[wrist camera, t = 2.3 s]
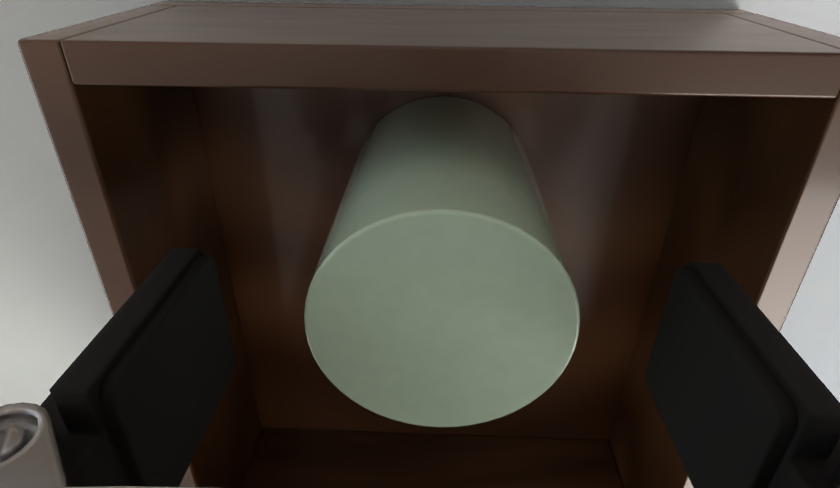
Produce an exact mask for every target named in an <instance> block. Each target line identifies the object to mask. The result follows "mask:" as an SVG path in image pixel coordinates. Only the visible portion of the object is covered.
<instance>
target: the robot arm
mask: <svg viewBox="0 0 840 488" xmlns="http://www.w3.org/2000/svg"><path fill="white" fill-rule="evenodd" d="M234 369H235V352H234V348H233V343H232V338H231V333H230V328H229V324H228V319H227V314H226V309H225V305H224V300H223V295H222V290H221V285H220V281H219V276H218V271H217V266H216V262H215V259H214V258H213V257H212V256H207V254H206V252H205V251H204V250H203V249H191V248H173V249H172V250H170V251H169V252H168V254H167V255H166V256H165V257H164V258H163V259H162V261H161V262H160V263H159V264H158V265H157V266H156V267H155V269H154V270H153V271H152V272H151V273H150V274H149V276H148V277H147V278H146V279H145V280H144V281H143V282H142V284H141V285H140V286H139V287H138V288H137V289H136V291H135V292H134V293H133V294H132V295H131V296H130V297H129V299H128V300H127V301H126V302H125V303H124V304H123V306H122V307H121V308H120V309H119V310H118V311H117V312H116V314H115V315H114V316H113V317H112V318H111V319H110V320H109V322H108V323H107V324H106V325H105V326H104V327H103V329H102V330H101V331H100V332H99V333H98V334H97V335H96V337H95V338H94V339H93V340H92V341H91V342H90V344H89V345H88V346H87V347H86V348H85V349H84V350H83V352H82V353H81V354H80V355H79V356H78V357H77V359H76V360H75V361H74V362H73V363H72V364H71V365H70V367H69V368H68V369H67V370H66V371H65V372H64V374H63V375H62V376H61V377H60V378H59V379H58V380H57V382H56V383H55V384H54V385H53V386H52V387H51V389H50V392H51V394H50V395H49V396H48V397H47V398H46V400H45V401H44V402H43V403H42V404H41V405H40V406H39V405H37V404H31V403H16V404H7V405H4V406H1V407H0V488H202V487H179V486H180V484H181V482H182V480H183V477H184V475H185V473H186V471H187V469H188V467H189V465H190V463H191V461H192V459H193V457H194V455H195V452H196V450H197V448H198V446H199V444H200V442H201V440H202V438H203V436H204V434H205V432H206V430H207V427H208V425H209V423H210V421H211V419H212V417H213V415H214V413H215V411H216V409H217V407H218V404H219V402H220V400H221V398H222V396H223V394H224V392H225V390H226V388H227V386H228V384H229V382H230V379H231V377H232V375H233V373H234ZM646 382H647V386H648V389H649V391H650V393H651V395H652V398H653V400H654V402H655V404H656V406H657V409H658V411H659V413H660V415H661V417H662V420H663V422H664V424H665V426H666V428H667V431H668V433H669V435H670V437H671V440H672V442H673V444H674V446H675V448H676V451H677V453H678V455H679V457H680V459H681V462H682V464H683V466H684V468H685V470H686V473H687V475H688V477H689V479H690V481H691V484H692V486H693V488H840V403H839V401H838V400H837V399H836V398H835V397H834V396H833V394H832V393H831V392H830V391H829V390H828V389H827V387H826V386H825V385H824V384H823V383H822V381H821V380H820V379H819V378H818V377H817V376H816V374H815V373H814V372H813V371H812V370H811V369H810V367H809V366H808V365H807V364H806V363H805V361H804V360H803V359H802V358H801V357H800V356H799V354H798V353H797V352H796V351H795V350H794V349H793V347H792V346H791V345H790V344H789V343H788V341H787V340H786V339H785V338H784V337H783V336H782V334H781V333H780V332H779V331H778V330H777V328H776V327H775V326H774V325H773V324H772V323H771V321H770V320H769V319H768V318H767V317H766V316H765V314H764V313H763V312H762V311H761V310H760V308H759V307H758V306H757V305H756V304H755V303H754V301H753V300H752V299H751V298H750V297H749V296H748V294H747V293H746V292H745V291H744V290H743V288H742V287H741V286H740V285H739V284H738V283H737V281H736V280H735V279H734V278H733V277H732V276H731V274H730V273H729V272H728V271H727V270H726V268H725V267H724V266H723V265H722V264H720V263H714V262H688V263H686V265H685V266H684V268H683V269H677V270H676V272H675V273H674V276H673V279H672V283H671V286H670V290H669V293H668V297H667V300H666V304H665V307H664V311H663V314H662V318H661V321H660V324H659V328H658V331H657V335H656V338H655V342H654V345H653V349H652V352H651V356H650V359H649V363H648V366H647V370H646Z"/></svg>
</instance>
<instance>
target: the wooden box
mask: <svg viewBox="0 0 840 488" xmlns="http://www.w3.org/2000/svg"><path fill="white" fill-rule="evenodd" d="M18 46H19V49H20V52H21V55H22V58H23V60H24V63H25V66H26V69H27V72H28V75H29V78H30V80H31V83H32V86H33V89H34V92H35V95H36V98H37V100H38V103H39V106H40V109H41V112H42V115H43V117H44V120H45V123H46V126H47V129H48V132H49V135H50V137H51V140H52V143H53V146H54V149H55V152H56V155H57V157H58V160H59V163H60V166H61V169H62V172H63V174H64V177H65V180H66V183H67V186H68V189H69V192H70V194H71V197H72V200H73V203H74V206H75V209H76V212H77V214H78V217H79V220H80V223H81V226H82V229H83V231H84V234H85V237H86V240H87V243H88V246H89V249H90V251H91V254H92V257H93V260H94V263H95V266H96V269H97V271H98V274H99V277H100V280H101V283H102V286H103V288H104V291H105V294H106V297H107V300H108V303H109V306H110V308H111V311H112V314H113V316H114V315H115V314H116V312H117V311H118V310H119V309H120V308H121V307H122V306H123V304H124V303H125V302H126V301H127V300H128V299H129V297H130V296H131V295H132V294H133V293H134V292H135V291H136V289H137V288H138V287H139V286H140V285H141V284H142V282H143V281H144V280H145V279H146V278H147V277H148V276H149V274H150V273H151V272H152V271H153V270H154V269H155V267H156V266H157V265H158V264H159V263H160V262H161V261H162V259H163V258H164V257H165V256H166V255H167V254H168V252H169V251H170V250H172V249H173V248H191V249H203V250H204V251H205V252H206V254H207V256H212V257H213V258H214V259H215V262H216V266H217V271H218V276H219V281H220V285H221V290H222V295H223V300H224V305H225V309H226V314H227V319H228V324H229V328H230V333H231V338H232V343H233V348H234V352H235V369H234V373H233V375H232V377H231V379H230V382H229V384H228V386H227V388H226V390H225V392H224V394H223V396H222V398H221V400H220V402H219V404H218V407H217V409H216V411H215V413H214V415H213V417H212V419H211V421H210V423H209V425H208V427H207V430H206V432H205V434H204V436H203V438H202V440H201V442H200V444H199V446H198V448H197V450H196V452H195V455H194V457H193V459H192V461H191V463H190V465H189V467H188V469H187V471H186V473H185V475H184V477H183V480H182V482H181V484H180V486H179V487H202V488H693V486H692V484H691V481H690V479H689V477H688V475H687V473H686V470H685V468H684V466H683V464H682V462H681V459H680V457H679V455H678V453H677V451H676V448H675V446H674V444H673V442H672V440H671V437H670V435H669V433H668V431H667V428H666V426H665V424H664V422H663V420H662V417H661V415H660V413H659V411H658V409H657V406H656V404H655V402H654V400H653V398H652V395H651V393H650V391H649V389H648V386H647V382H646V370H647V366H648V363H649V359H650V356H651V352H652V349H653V345H654V342H655V338H656V335H657V331H658V328H659V324H660V321H661V318H662V314H663V311H664V307H665V304H666V300H667V297H668V293H669V290H670V286H671V283H672V279H673V276H674V273H675V272H676V270H677V269H683V268H684V266H685V265H686V263H688V262H714V263H720V264H722V265H723V266H724V267H725V268H726V270H727V271H728V272H729V273H730V274H731V276H732V277H733V278H734V279H735V280H736V281H737V283H738V284H739V285H740V286H741V287H742V288H743V290H744V291H745V292H746V293H747V294H748V296H749V297H750V298H751V299H752V300H753V301H754V303H755V304H756V305H757V306H758V307H759V308H760V310H761V311H762V312H763V313H764V314H765V316H766V317H767V318H768V319H769V320H770V321H771V323H772V324H773V325H774V326H775V327H776V328H777V330H778V331H779V332H780V330H781V328H782V325H783V323H784V321H785V318H786V316H787V314H788V312H789V309H790V307H791V305H792V303H793V300H794V298H795V296H796V294H797V291H798V289H799V287H800V285H801V282H802V280H803V278H804V276H805V273H806V271H807V269H808V267H809V264H810V262H811V260H812V258H813V255H814V253H815V251H816V249H817V246H818V244H819V242H820V239H821V237H822V235H823V233H824V230H825V228H826V226H827V224H828V221H829V219H830V217H831V215H832V212H833V210H834V208H835V206H836V203H837V201H838V199H839V197H840V37H838V36H834V35H831V34H827V33H824V32H820V31H816V30H813V29H809V28H806V27H802V26H798V25H795V24H791V23H788V22H784V21H780V20H777V19H773V18H770V17H766V16H763V15H759V14H754V13H751V12H747V11H743V10H717V9H646V8H575V7H503V6H432V5H361V4H290V3H218V2H159V3H155V4H151V5H147V6H144V7H140V8H136V9H132V10H129V11H125V12H121V13H117V14H114V15H110V16H106V17H102V18H99V19H95V20H91V21H87V22H84V23H80V24H76V25H72V26H69V27H65V28H61V29H57V30H53V31H50V32H46V33H42V34H38V35H35V36H31V37H27V38H23V39H21V40H19V41H18ZM440 96H445V97H457V98H462V99H467V100H470V101H473V102H476V103H479V104H481V105H483V106H485V107H487V108H489V109H490V110H492V111H493V112H495V113H496V114H498V115H499V116H500V117H501V118H502V119H504V120H505V121H506V122H507V123H508V124H509V125H510V127H511V128H512V129H513V130H514V131H515V133H516V134H517V136H518V138H519V139H520V141H521V143H522V145H523V147H524V150H525V152H526V155H527V158H528V160H529V163H530V166H531V169H532V171H533V174H534V177H535V180H536V182H537V185H538V188H539V191H540V193H541V196H542V199H543V202H544V204H545V207H546V210H547V213H548V215H549V218H550V221H551V224H552V226H553V229H554V232H555V235H556V237H557V240H558V243H559V245H560V248H561V251H562V254H563V256H564V259H565V262H566V265H567V267H568V270H569V273H570V276H571V278H572V281H573V284H574V287H575V289H576V293H577V297H578V301H579V306H580V329H579V336H578V340H577V343H576V347H575V350H574V352H573V354H572V357H571V359H570V361H569V363H568V365H567V366H566V368H565V369H564V371H563V373H562V374H561V375H560V376H559V378H558V379H557V380H556V381H555V382H554V384H553V385H552V386H551V387H550V388H548V389H547V390H546V391H545V392H544V393H543V394H542V395H541V396H539V397H538V398H536V399H535V400H534V401H532V402H531V403H529V404H528V405H526V406H524V407H522V408H521V409H519V410H517V411H515V412H513V413H510V414H508V415H506V416H503V417H501V418H498V419H494V420H491V421H488V422H484V423H479V424H474V425H468V426H459V427H428V426H419V425H413V424H407V423H403V422H400V421H396V420H392V419H389V418H387V417H384V416H381V415H378V414H376V413H374V412H372V411H370V410H368V409H366V408H364V407H362V406H361V405H359V404H357V403H356V402H354V401H352V400H351V399H350V398H348V397H347V396H346V395H345V394H343V393H342V392H341V391H340V390H339V389H338V388H337V387H336V386H335V385H334V384H332V383H331V382H330V380H329V379H328V378H327V377H326V375H325V374H324V373H323V372H322V370H321V369H320V367H319V365H318V364H317V362H316V360H315V359H314V357H313V354H312V352H311V349H310V347H309V344H308V340H307V336H306V332H305V324H304V309H305V300H306V296H307V292H308V289H309V285H310V283H311V280H312V277H313V275H314V272H315V269H316V267H317V264H318V261H319V259H320V256H321V253H322V251H323V248H324V245H325V243H326V240H327V237H328V235H329V232H330V229H331V226H332V224H333V221H334V218H335V216H336V213H337V210H338V208H339V205H340V202H341V200H342V197H343V194H344V192H345V189H346V186H347V184H348V181H349V178H350V176H351V173H352V170H353V167H354V165H355V162H356V159H357V157H358V154H359V151H360V149H361V147H362V145H363V143H364V141H365V139H366V137H367V136H368V134H369V133H370V131H371V130H372V129H373V128H374V127H375V125H376V124H377V123H378V122H379V121H380V120H382V119H383V118H384V117H385V116H386V115H387V114H389V113H390V112H392V111H393V110H395V109H397V108H399V107H401V106H403V105H405V104H407V103H410V102H412V101H415V100H418V99H424V98H429V97H440Z"/></svg>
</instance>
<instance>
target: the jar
mask: <svg viewBox="0 0 840 488" xmlns="http://www.w3.org/2000/svg"><path fill="white" fill-rule="evenodd" d="M304 324H305V332H306V336H307V340H308V344H309V347H310V349H311V352H312V354H313V357H314V359H315V360H316V362H317V364H318V365H319V367H320V369H321V370H322V372H323V373H324V374H325V375H326V377H327V378H328V379H329V380H330V382H331V383H332V384H334V385H335V386H336V387H337V388H338V389H339V390H340V391H341V392H342V393H343V394H345V395H346V396H347V397H348V398H350V399H351V400H352V401H354V402H356V403H357V404H359V405H361V406H362V407H364V408H366V409H368V410H370V411H372V412H374V413H376V414H378V415H381V416H384V417H387V418H389V419H392V420H396V421H400V422H403V423H407V424H413V425H419V426H428V427H459V426H468V425H474V424H479V423H484V422H488V421H491V420H494V419H498V418H501V417H503V416H506V415H508V414H510V413H513V412H515V411H517V410H519V409H521V408H522V407H524V406H526V405H528V404H529V403H531V402H532V401H534V400H535V399H536V398H538V397H539V396H541V395H542V394H543V393H544V392H545V391H546V390H547V389H548V388H550V387H551V386H552V385H553V384H554V382H555V381H556V380H557V379H558V378H559V376H560V375H561V374H562V373H563V371H564V369H565V368H566V366H567V365H568V363H569V361H570V359H571V357H572V354H573V352H574V350H575V347H576V343H577V340H578V336H579V329H580V306H579V301H578V297H577V293H576V289H575V287H574V284H573V281H572V278H571V276H570V273H569V270H568V267H567V265H566V262H565V259H564V256H563V254H562V251H561V248H560V245H559V243H558V240H557V237H556V235H555V232H554V229H553V226H552V224H551V221H550V218H549V215H548V213H547V210H546V207H545V204H544V202H543V199H542V196H541V193H540V191H539V188H538V185H537V182H536V180H535V177H534V174H533V171H532V169H531V166H530V163H529V160H528V158H527V155H526V152H525V150H524V147H523V145H522V143H521V141H520V139H519V138H518V136H517V134H516V133H515V131H514V130H513V129H512V128H511V127H510V125H509V124H508V123H507V122H506V121H505V120H504V119H502V118H501V117H500V116H499V115H498V114H496V113H495V112H493V111H492V110H490V109H489V108H487V107H485V106H483V105H481V104H479V103H476V102H473V101H470V100H467V99H462V98H457V97H445V96H440V97H429V98H424V99H418V100H415V101H412V102H410V103H407V104H405V105H403V106H401V107H399V108H397V109H395V110H393V111H392V112H390V113H389V114H387V115H386V116H385V117H384V118H383V119H382V120H380V121H379V122H378V123H377V124H376V125H375V127H374V128H373V129H372V130H371V131H370V133H369V134H368V136H367V137H366V139H365V141H364V143H363V145H362V147H361V149H360V151H359V154H358V157H357V159H356V162H355V165H354V167H353V170H352V173H351V176H350V178H349V181H348V184H347V186H346V189H345V192H344V194H343V197H342V200H341V202H340V205H339V208H338V210H337V213H336V216H335V218H334V221H333V224H332V226H331V229H330V232H329V235H328V237H327V240H326V243H325V245H324V248H323V251H322V253H321V256H320V259H319V261H318V264H317V267H316V269H315V272H314V275H313V277H312V280H311V283H310V285H309V289H308V292H307V296H306V300H305V309H304Z"/></svg>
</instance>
